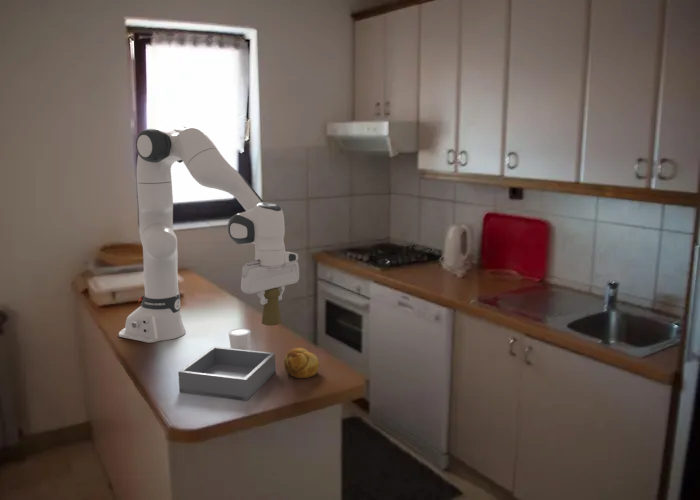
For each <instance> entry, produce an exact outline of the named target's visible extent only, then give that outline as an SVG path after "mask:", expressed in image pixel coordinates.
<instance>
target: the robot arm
mask: <svg viewBox="0 0 700 500" xmlns="http://www.w3.org/2000/svg"><path fill="white" fill-rule="evenodd" d="M135 148H136V151H137V155H138V156H137V160H136V190H137V200H138V201H137V202H138V219H139V220H138V221H139V222H138V226H139V238H140V242H141V246H142V256H143V257H142V261H143V282H144V295H142V296H141V297H139V298H138V303H140V302H141V304H140V306H139V307H137V308H136V309H135V310H133V312H131V313H130V314H129V315H128V316H127V318H126V320H125V327H124V328H123V329H121V330H119V332H118V337H120V338H125V339H129V340H130V339H131V340H133V341H134V340H135V341H138V342H139V341H140V342H144V343H149V344H150V343H151V344H152V343H156V342H161V341H167V340H173V339H176V338H177V339H178V338H180V337H181V336H183V335H185V334H186V332H187V331H186V329H185V326H184V323H183V319H182V313H181V307H182V306H181V293H180V291H179V282H178V281H179V279H178V264H179V263H178V261H179V259H178V257H179V256H178V255H179V254H178V252H179V249H178V246H179V245H178V237H177V235H176V233H175V232H174V196H173V183H172V181H173V180H172V169H171V168H172V166H173V164H174V163H176V162H177V163H178V164H179V163H180V164H181V163H183V164H184V166H185V167H186V169H187V170H188V172H189V174H190V175H191V177H192V178H193V179H194V180H195V181H196V182H197V183H198V184H200V185H201V186H202V187H204V188H205V187H206V188H209V189H215V190H219V191H223V192H225V193H229V194H230V195H231V196H233V197H234V198H235V199H236V200H237V202H238V203H239V204H240V205H241V206H242V208H243V209H244V210H245V211H242V212H238V213H236V214H234V215H232V216H231V217H230V218H229V220H228V223H227V233H228V235H229V238H230V239H231V240H232V241H233V243H235V244H236V245H250V244H254V247H255V248H254V250H255V251H254V253H255V257H254V259H255V260H253V261H247V262H245V264H244V265H243V266H242V267H241V277H240V278H241V280H240V290H241V292H243V293H244V294H248V295H253V294H256V295H257V296H258V298H259V301H260V302H259V303H260V305H262V306H264V305H265V304H268V302H267V301H268V299H267V298H265V297H264V295H263V294H265V290H269V289H273V288H278V289H279V291H280V295H279V297H278V302H279V301H282V300H283V293H284V292H285V290H286V288H285V287H286V286H288V285H293V284H297V283H298V281H299V280H300V266H299V262H298V260H299V255H298V253H296V252H292V251H288V250H286V245H285V242H284V237H285V234H286V231H285V230H286V229H285V228H286V227H285V217H284V216H285V215H284V211H283V209H282V207H281V206H280V205H278V204H276V203H273V202H266V201H265V202H264V200H263V199H262V198H261V197H260V195H259V194H258V192H257V191H256V190H255V189H254V188H253V187H252V185H250V183H249V182H248V180H246V178H245V177H244V176H243V175H242V174H241V173H240V172H239V171H238V170H237V169H235V168H234V167H233V166H232V165H231V164H230V163H229V162H228V161H227V160H226V159H225V158H224V157H223V155H222V154H221V152H220V151H219V149H218V147H217V146H216V145H215V143H214V142H213V141H212V140H211V139H210V137H209V136H208V135H207V134H206V133H205V132H204V131H203V130H202V129H201V128H199V127H197V126H189V127H186V126H182V127H180V126H165V127H157V128H154V127H153V128H152V127H151V128H147V129H144V130H142V131H140V132H139V133H138V134H137V137H136V140H135Z"/></svg>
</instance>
